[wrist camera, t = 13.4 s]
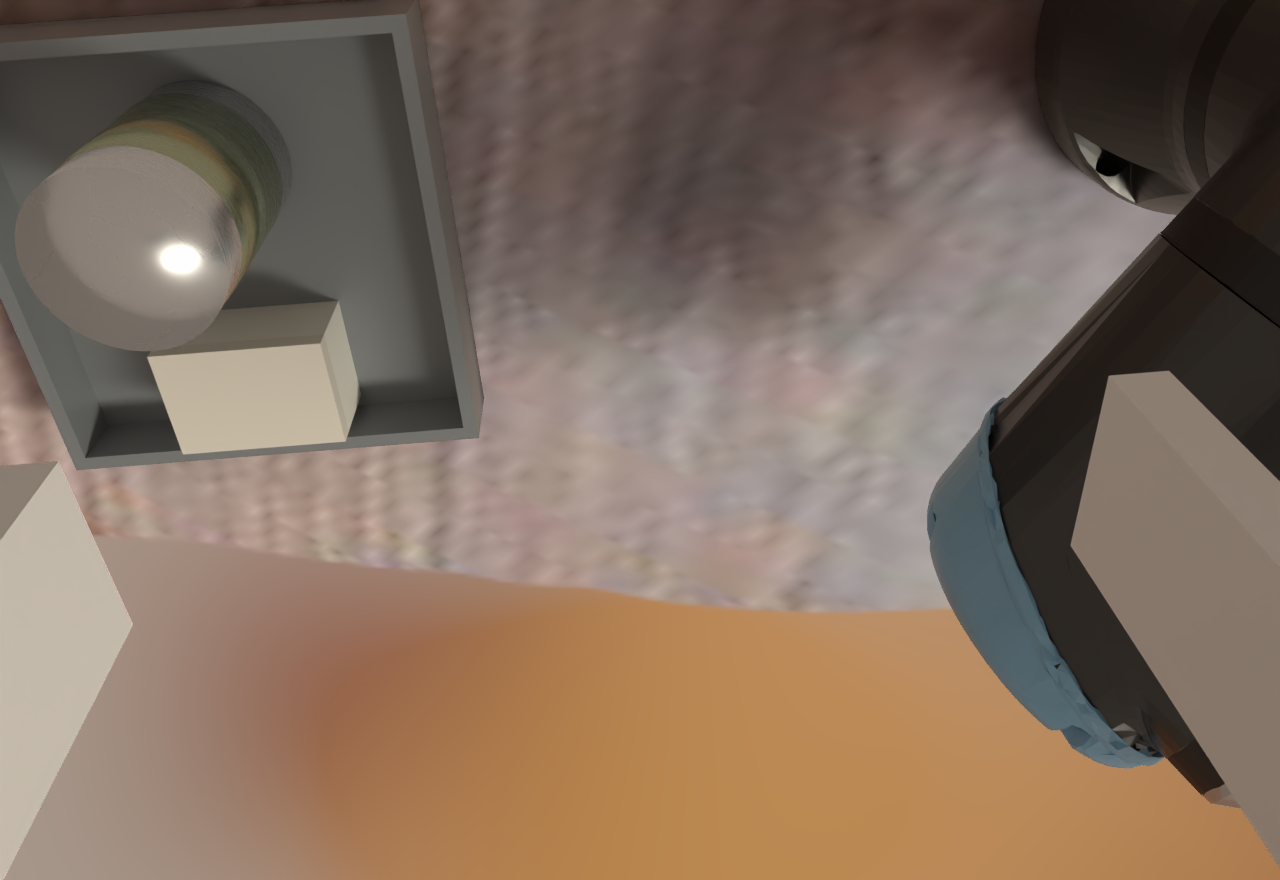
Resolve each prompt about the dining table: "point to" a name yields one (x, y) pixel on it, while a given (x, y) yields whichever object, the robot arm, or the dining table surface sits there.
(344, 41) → the tray
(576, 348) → the dining table surface
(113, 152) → the tin can
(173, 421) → the cream rectangular block
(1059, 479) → the robot arm
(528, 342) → the dining table surface
